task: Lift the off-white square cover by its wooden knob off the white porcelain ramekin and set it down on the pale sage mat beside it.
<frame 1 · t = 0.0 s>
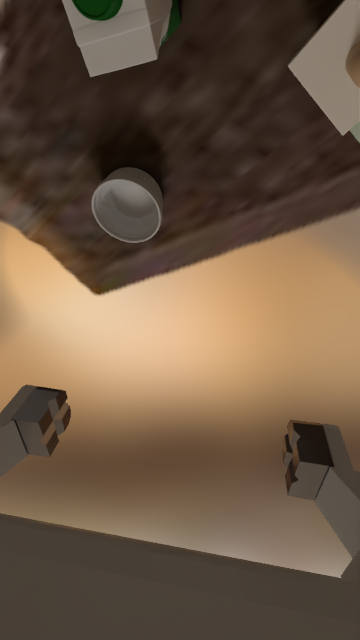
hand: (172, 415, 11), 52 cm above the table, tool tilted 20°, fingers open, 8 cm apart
ramekin: (135, 193, 62), on the table
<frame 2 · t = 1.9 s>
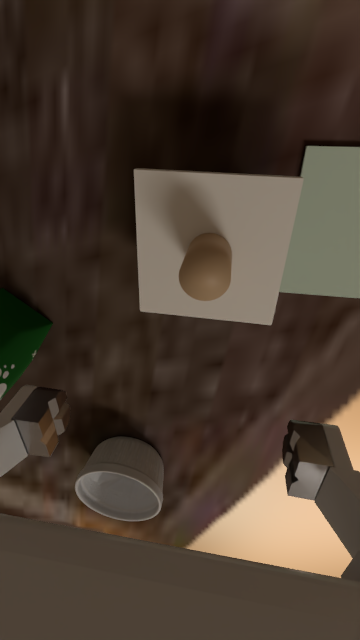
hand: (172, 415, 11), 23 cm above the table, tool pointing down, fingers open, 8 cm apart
cover: (210, 251, 26), point 5 cm above the table, touching ramekin 2
ramekin: (131, 455, 52), on the table
milk carton: (19, 321, 40), on the table
mat: (359, 230, 28), on the table
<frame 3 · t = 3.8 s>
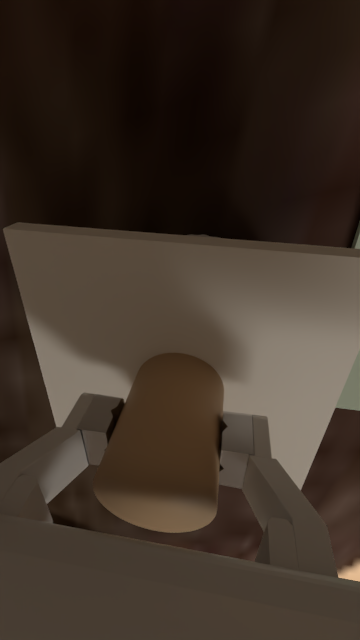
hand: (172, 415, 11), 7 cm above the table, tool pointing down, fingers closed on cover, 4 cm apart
cover: (182, 374, 13), point 5 cm above the table, touching gripper
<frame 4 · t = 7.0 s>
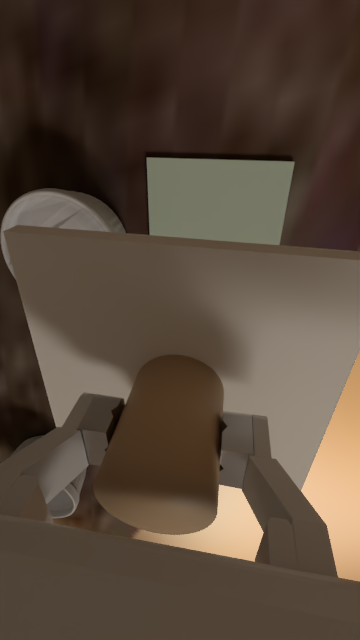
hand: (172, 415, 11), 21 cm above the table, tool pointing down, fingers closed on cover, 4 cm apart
cover: (182, 376, 13), point 19 cm above the table, touching gripper
ramekin: (56, 454, 53), on the table
mat: (213, 237, 29), on the table
ramekin 2: (85, 239, 32), on the table
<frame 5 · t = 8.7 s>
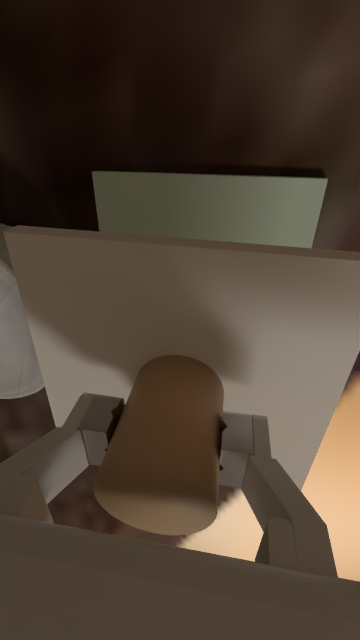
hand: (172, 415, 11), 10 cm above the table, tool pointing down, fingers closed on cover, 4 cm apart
cover: (182, 377, 13), point 8 cm above the table, touching gripper
mat: (199, 287, 20), on the table
ramekin 2: (18, 286, 22), on the table
when the fingers open (4 cm above the table, at t = 10.3 s): cover drops 1 cm, resting on mat.
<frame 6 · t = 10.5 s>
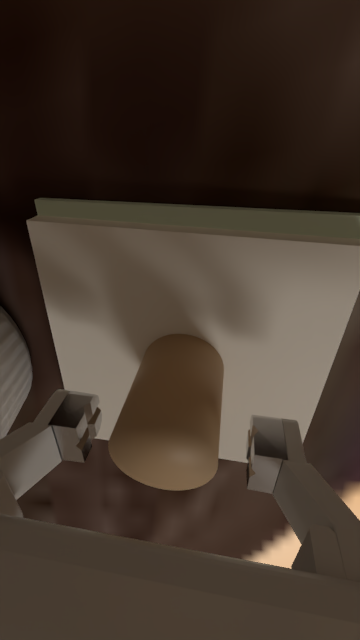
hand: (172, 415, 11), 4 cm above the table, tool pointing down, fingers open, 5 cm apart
cover: (185, 356, 15), resting on mat
mat: (188, 348, 15), on the table
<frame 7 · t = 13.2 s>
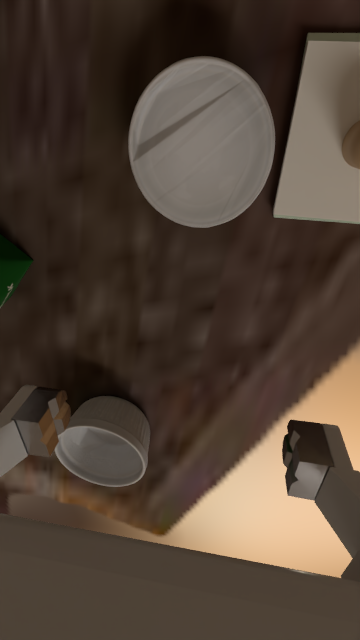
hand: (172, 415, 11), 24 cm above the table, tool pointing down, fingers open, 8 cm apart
ramekin: (116, 419, 49), on the table
ramekin 2: (205, 148, 28), on the table
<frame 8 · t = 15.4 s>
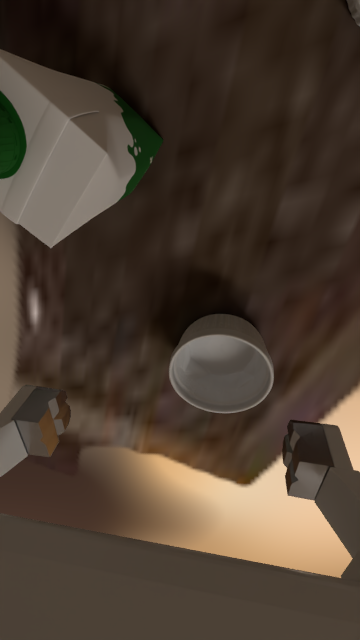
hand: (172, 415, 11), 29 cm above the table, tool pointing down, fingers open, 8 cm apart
ramekin: (222, 344, 45), on the table
milk carton: (119, 144, 34), on the table
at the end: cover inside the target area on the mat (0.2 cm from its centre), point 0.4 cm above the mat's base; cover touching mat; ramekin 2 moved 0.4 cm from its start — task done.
